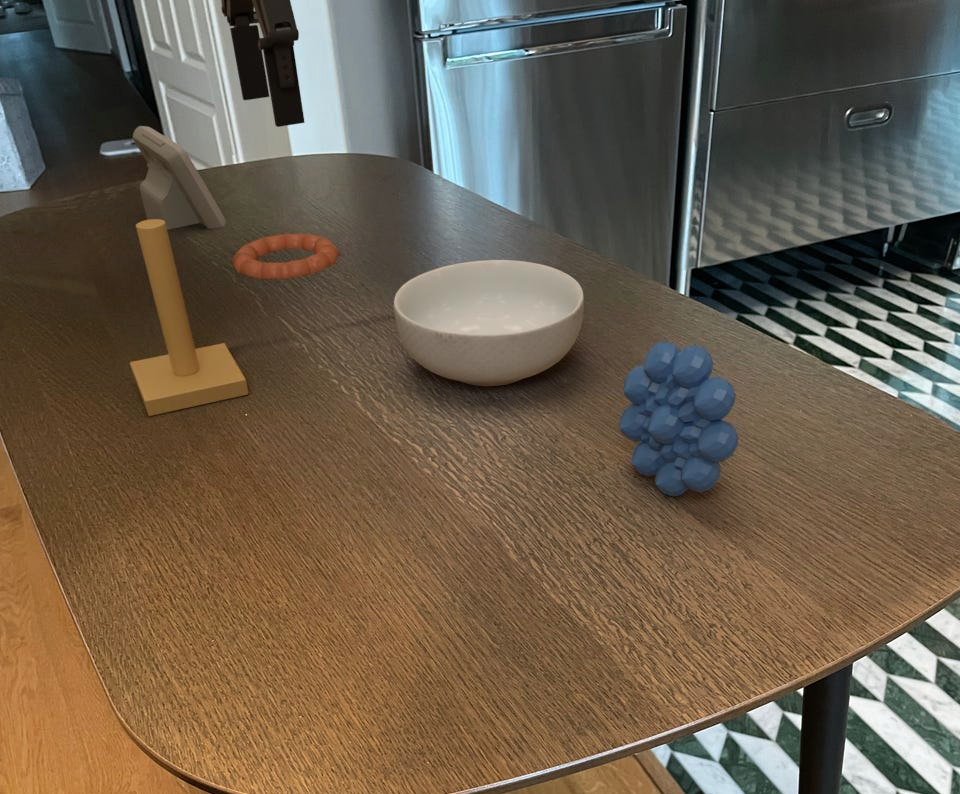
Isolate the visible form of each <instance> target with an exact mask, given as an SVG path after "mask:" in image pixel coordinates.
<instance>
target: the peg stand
mask: <svg viewBox="0 0 960 794" xmlns="http://www.w3.org/2000/svg"><path fill="white" fill-rule="evenodd" d="M135 228H136V229H135V230H136V233H137V237H138V240H139V244H140V249H141V253H142V256H143V261H144V265H145V269H146V272H147V276H148V280H149V285H150V288H151V291H152V296H153V300H154V304H155V307H156V311H157V316H158V319H159V323H160V327H161V330H162V335H163V338H164V342H165V343H164V344H165V347H166V351H167V354H163V355H158V356H154V357H149V358H143V359H138V360H133V361H130V362H129V366H130V369H131V373H132V377H133V379H134V381H135V382H134V383H135V385H136V387H137V390H138V393H139V395H140V398H141V400H142V402H143V403H142V404H143V405H144V408H145V412H146V413H147V415H148V417H152V416H157V415H160V414H161V415H162V414H165V413H170V412H174V411H180V410H184V409H189V408H193V407H198V406H203V405H206V404H212V403H215V402H216V403H217V402H220V401H221V402H222V401H224V400H229V399H235V398H238V397H239V398H240V397H243V396H247V395H250V393H249V388H248V383H247V379H246V377H245V376H244V374H243V372H242V371H241V369H240V367H239V365H238V364H237V362H236V360H235V359H234V356H233V355H232V353H231V352H230V350H229V348H228V346H227V344H226V343H225V342H222V343H217V344H213V345H212V344H211V345H208V346H202V347H197V348H196V347H195V343H194V339H193V333H192V329H191V326H190V321H189V318H188V312H187V309H186V304H185V300H184V297H183V291H182V287H181V283H180V279H179V275H178V270H177V265H176V262H175V257H174V254H173V250H172V246H171V245H172V244H171V241H170V236H169V232H168V230H167V228H166V224H165V221H164V220H160V219H150V220H147V219H145V220H142V221H139V222H138V223H136V224H135Z"/></svg>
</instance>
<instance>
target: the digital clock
mask: <svg viewBox="0 0 960 794" xmlns="http://www.w3.org/2000/svg"><path fill="white" fill-rule="evenodd" d="M132 140H133V141H134V144H135V145H136V146H137V148H138V150H139V151H140V153H141V155H142V156H143V158H144V160H145V161H146V167H147V168H148V169H147V173H146V177H145V179H144V180H143V181H142V182H141V183H140V185H139V192H140V197H141V201H142V205H143V207H144V208H143V209H144V213H145V216H146V217H145V218H146V220H150V219H160V220H164V221H165V224H166V228H167V231H169V230H174V229H177V228H183V227H188V226H191V225H197V224H201V225H203V226H204V227H206V228H207V229H208V230H209V229H210V230H211V229H221V228H224V227H225V226H226V225H227V224H228V223H227V220H226V218H225V216H224V215H223V212H222V211H221V209H220V208H219V206H218V204H217V202H216V201H215V199H214V197H213V196H212V195H213V194H212V193H211V192H210V190H209V189H208V187H207V185H206V183H205V182H204V179H202V177H201V175H200V173H199V171H198V170H197V168H196V166H195V165H194V163H193V161H192V159H191V157H190V156H189V154H188V153H187V151H186V150H185V148H183V146H181V145H180V144H177V143H176V142H174V141H173V140H172V139H170V138H168V137H167V136H165V135H163V134H162V133H160V132H158V131H157V130H156V129H153V128H152V127H150V126H146V125H139V126H137V127H136V128H135V129H134V130H133V133H132Z"/></svg>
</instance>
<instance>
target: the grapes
mask: <svg viewBox="0 0 960 794" xmlns="http://www.w3.org/2000/svg"><path fill="white" fill-rule="evenodd" d="M713 367H714V361H713V357H712V355H711V353H710V352H709V351H708V350H707V349H706V348H705V347H703V346H700V345H697V344H693V345H692V344H691V345H688V346H684V348H683V349H680V348H679V347H678V346H677V345H676V344H675V343H673V342H671V341H667V340H665V341H659V342H656V343H655V344H654V345H652V346H651V347H650V349H648V351H647V353H646V355H645V357H644V361H643V364H642V365H641V364H640V365H636V366H635V367H633V368H632V369H631V370H630V371H629V372H628V373H627V376H626V377H625V379H624V381H623V387H622V388H623V390H622V391H623V394H624V396H625V398H626V399H627V400H628V401H629V402H630V403H631V404H629V405H628V406H627V407H626V408H624V410H623V412H622V413H621V415H620V418H619V422H618V429H619V432H620V433H621V434H622V435H623V436H624V437H625V438H626V439H627V440H629V441H632V442H634V443H637V442H639V443H637V444H636V446H635V448H634V450H633V452H632V454H631V460H630V461H631V466H632V467H633V469H634V470H635V471H636V472H637V473H638V474H639V475H642V476H645V477H649V478H650V477H655V479H654V481H655V486H656V488H657V489H658V490H659V491H660V493H662V494H663V493H664V494H663V495H666V494H667V495H666V496H669V497H671V496H672V497H679V495H680V496H682V495H683V494H684V493H686V492H687V491H688V490H691V491H694V492H696V493H703V492H707V491H709V490H710V489H712V488H713V487H714V486H716V484H717V482H718V481H719V479H720V478H721V477H720V476H721V470H722V468H721V464H720V463H722V462H725V461H727V460H728V459H729V458H731V457H732V456H733V455H734V453H735V452H736V449H737V447H738V445H739V434H738V432H737V429H736V428H735V427H734V425H732V424H731V423H730V422H728V421H725V420H723V419H724V418H725V417H727V416H728V415H729V414H730V413H731V411H732V410H733V407H734V405H735V403H736V397H737V393H736V390H735V387H734V386H733V384H732V383H731V382H730V381H729V379H726V378H723V377H720V376H713V377H710V376H711V374H712V372H713Z"/></svg>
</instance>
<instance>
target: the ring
mask: <svg viewBox="0 0 960 794" xmlns="http://www.w3.org/2000/svg"><path fill="white" fill-rule="evenodd" d="M282 250H305V251H309V252H313V253H314V254H311V255H310V256H307V257H305V258H301V259H295V260H291V261H285V262H264V261H260V260H258V259H259V258H260V257H262V256H265V255H267V254H269V253H271V252H277V251H282ZM339 257H340V251H339V249H338V247H337V246H336V245H335V244H334V243H333V242H332V241H331V240H329V239H328V238H326V237H324V236H319V235H314V234H309V233H282V234H276V235H272V236H265V237H260V238H258V239H255V240H254V241H251V242H249V243H246V244H244V245H242V246H241V247H240V248H239V250H238V251H237V252H236V253H235V255H233V257H232V261H231V264H232V267H233V268H234V269H235V271H236V272H237V273H238V274H239V275H244V276H247V277H251V278H254V279H261V280H264V279H265V280H267V279H269V280H270V279H271V280H273V279H274V280H277V279H280V280H282V279H285V280H287V279H291V278H296V277H302V276H307V275H312V274H316V273H318V272H320V271H322V270H324V269H327V268H330V267H331V266H334V265H335V263H336V261H338V258H339Z"/></svg>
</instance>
